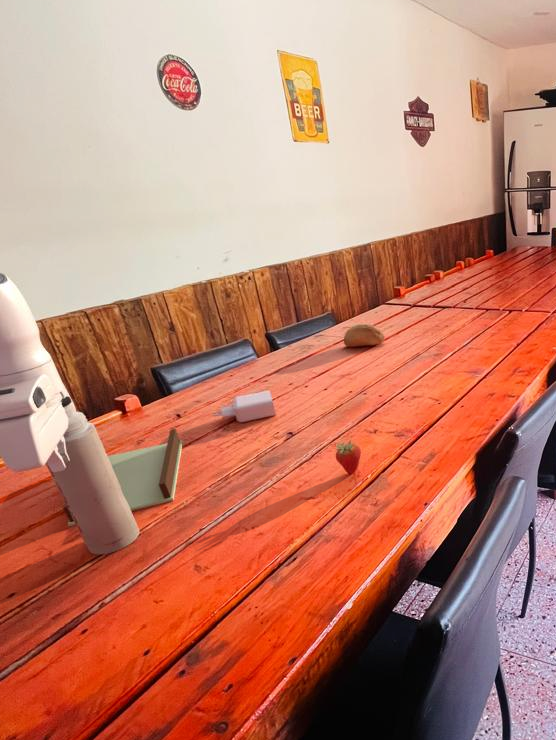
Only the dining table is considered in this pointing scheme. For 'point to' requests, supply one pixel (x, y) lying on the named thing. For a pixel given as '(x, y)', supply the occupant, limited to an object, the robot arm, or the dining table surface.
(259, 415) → the white nozzle bottle
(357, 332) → the bread roll
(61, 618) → the dining table surface
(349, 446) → the fruit
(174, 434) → the tray
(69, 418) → the thermos bottle
